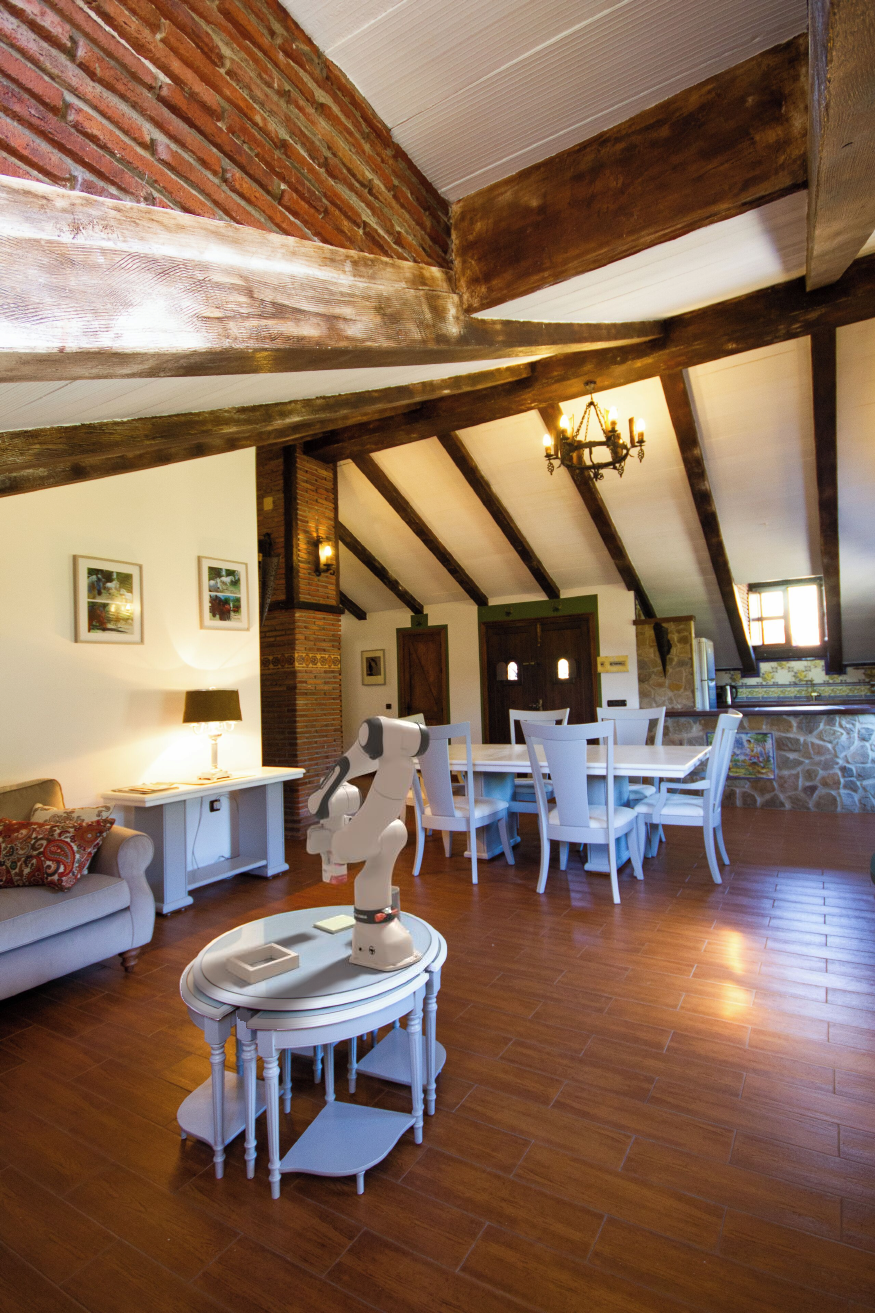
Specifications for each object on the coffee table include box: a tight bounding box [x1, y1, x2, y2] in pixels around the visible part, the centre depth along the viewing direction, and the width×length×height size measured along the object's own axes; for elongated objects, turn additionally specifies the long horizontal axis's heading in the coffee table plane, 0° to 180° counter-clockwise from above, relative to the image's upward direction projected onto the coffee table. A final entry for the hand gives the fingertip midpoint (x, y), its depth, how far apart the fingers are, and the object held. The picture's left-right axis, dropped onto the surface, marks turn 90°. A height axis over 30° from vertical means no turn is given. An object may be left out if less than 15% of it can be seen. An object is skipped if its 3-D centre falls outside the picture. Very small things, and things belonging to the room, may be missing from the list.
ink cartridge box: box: [321, 840, 348, 885], centre depth 224 cm, size 9×5×15 cm, turn 43°
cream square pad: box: [313, 913, 355, 935], centre depth 223 cm, size 12×12×1 cm
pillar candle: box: [391, 885, 402, 924], centre depth 214 cm, size 10×10×15 cm
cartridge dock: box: [225, 942, 300, 985], centre depth 188 cm, size 15×15×4 cm
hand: (334, 862), depth 224 cm, fingers closed on ink cartridge box, 5 cm apart
